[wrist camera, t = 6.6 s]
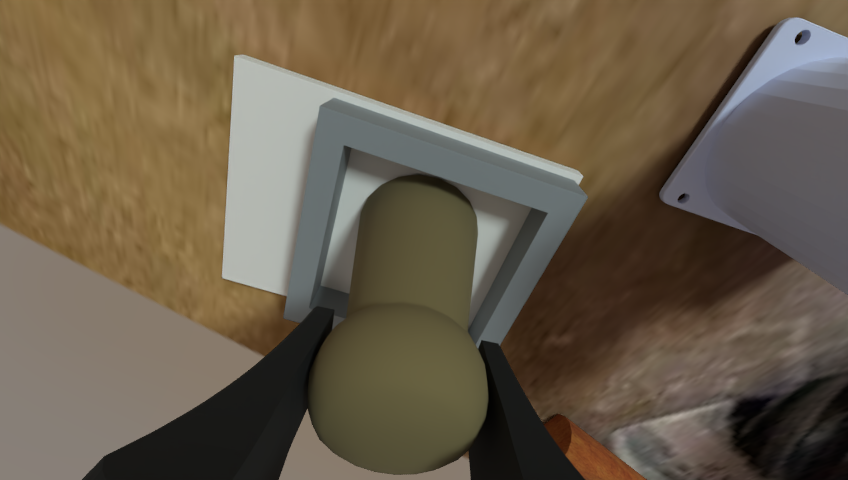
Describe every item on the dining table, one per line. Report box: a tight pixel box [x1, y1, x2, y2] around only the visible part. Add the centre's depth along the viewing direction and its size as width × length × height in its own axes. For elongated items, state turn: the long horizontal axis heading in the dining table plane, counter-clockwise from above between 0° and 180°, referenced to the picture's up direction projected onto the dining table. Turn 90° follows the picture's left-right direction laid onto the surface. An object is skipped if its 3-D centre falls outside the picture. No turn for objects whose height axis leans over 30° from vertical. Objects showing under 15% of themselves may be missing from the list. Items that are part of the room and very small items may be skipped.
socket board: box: [222, 55, 588, 348], centre depth 19 cm, size 16×12×3 cm
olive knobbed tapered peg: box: [308, 174, 489, 475], centre depth 14 cm, size 6×6×11 cm
